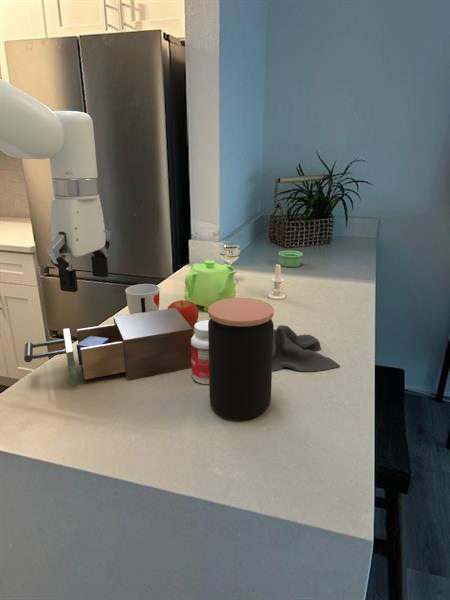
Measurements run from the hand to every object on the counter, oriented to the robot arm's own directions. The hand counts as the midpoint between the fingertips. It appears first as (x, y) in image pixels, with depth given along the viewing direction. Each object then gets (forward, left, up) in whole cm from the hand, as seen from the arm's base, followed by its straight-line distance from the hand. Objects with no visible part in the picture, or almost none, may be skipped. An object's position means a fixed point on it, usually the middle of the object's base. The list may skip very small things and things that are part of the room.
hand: (85, 283), depth 80 cm
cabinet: (+12, 0, -19) cm, 22 cm away
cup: (+14, +18, -19) cm, 30 cm away
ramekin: (+77, +55, -19) cm, 97 cm away
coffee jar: (+22, -22, -19) cm, 36 cm away
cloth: (+39, -8, -19) cm, 44 cm away
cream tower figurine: (+55, +25, -19) cm, 63 cm away
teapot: (+35, +26, -19) cm, 47 cm away
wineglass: (+48, +44, -19) cm, 68 cm away
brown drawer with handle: (-2, 0, -18) cm, 18 cm away
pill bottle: (+20, -11, -19) cm, 29 cm away
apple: (+22, +12, -19) cm, 31 cm away
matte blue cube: (0, 0, -17) cm, 17 cm away
